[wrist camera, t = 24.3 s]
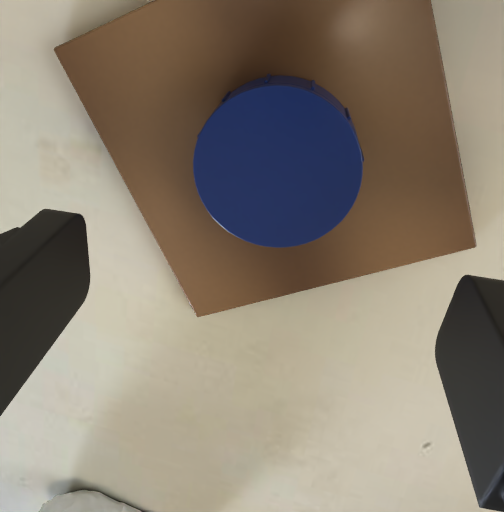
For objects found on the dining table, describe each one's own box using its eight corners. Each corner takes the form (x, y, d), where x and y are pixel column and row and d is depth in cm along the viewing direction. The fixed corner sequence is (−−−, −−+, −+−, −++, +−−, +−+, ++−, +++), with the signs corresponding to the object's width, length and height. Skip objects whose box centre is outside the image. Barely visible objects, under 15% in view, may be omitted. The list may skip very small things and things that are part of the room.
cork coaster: (405, -117, 13) (409, -121, 13) (472, 240, 19) (477, 247, 18) (60, 46, 17) (51, 48, 16) (199, 310, 22) (196, 318, 21)
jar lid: (174, 168, 18) (162, 186, 16) (264, 37, 15) (258, 44, 14) (291, 251, 19) (289, 275, 18) (392, 144, 16) (400, 161, 15)
